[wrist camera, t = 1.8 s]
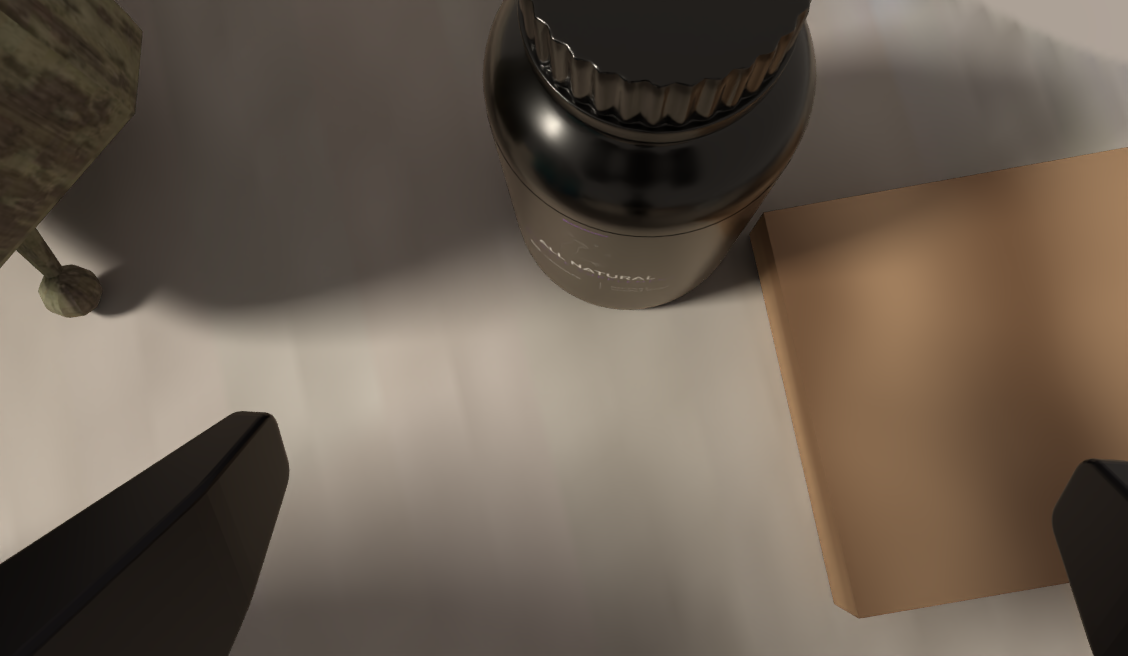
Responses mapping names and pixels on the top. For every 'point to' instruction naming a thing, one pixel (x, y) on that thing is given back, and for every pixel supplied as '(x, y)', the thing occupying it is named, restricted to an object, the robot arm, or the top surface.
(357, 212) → the top surface
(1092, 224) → the tan slab
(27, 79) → the tabletop clock
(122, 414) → the top surface
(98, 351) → the top surface
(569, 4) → the supplement bottle
